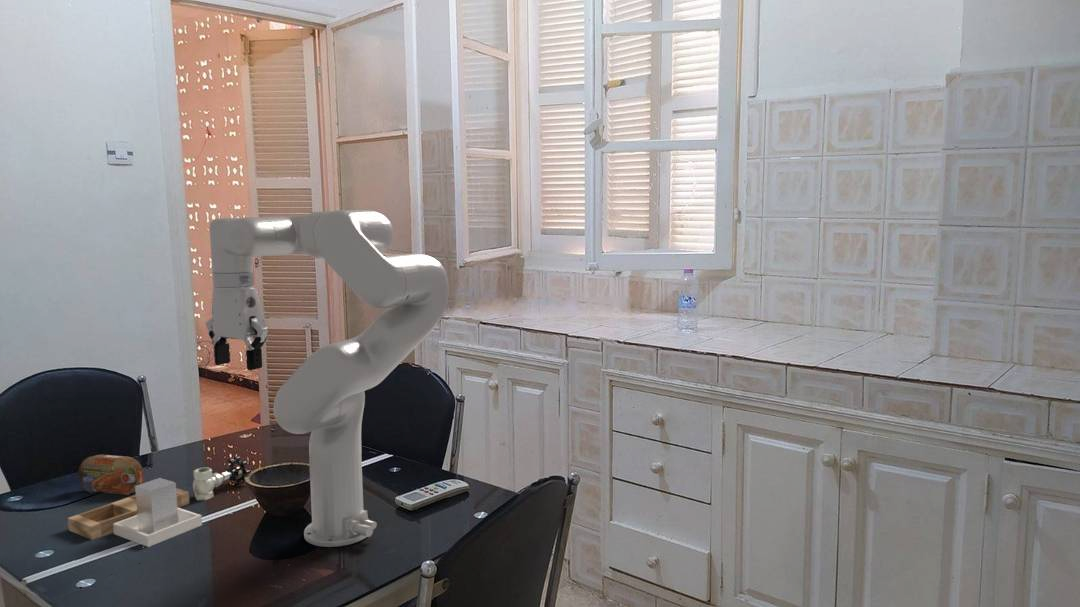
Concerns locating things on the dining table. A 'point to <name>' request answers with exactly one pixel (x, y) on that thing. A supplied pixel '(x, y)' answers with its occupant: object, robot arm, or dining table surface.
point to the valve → (217, 478)
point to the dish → (131, 532)
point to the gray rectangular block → (156, 505)
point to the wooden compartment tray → (111, 516)
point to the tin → (110, 474)
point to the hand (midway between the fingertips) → (238, 366)
